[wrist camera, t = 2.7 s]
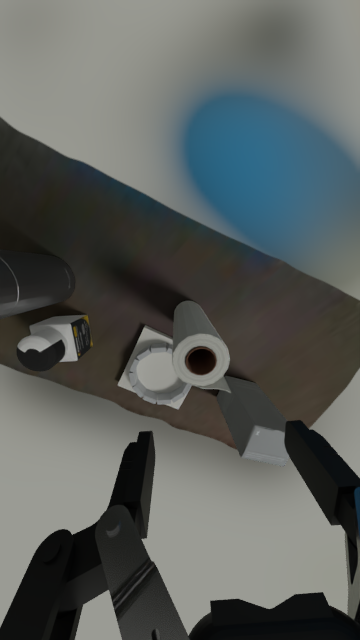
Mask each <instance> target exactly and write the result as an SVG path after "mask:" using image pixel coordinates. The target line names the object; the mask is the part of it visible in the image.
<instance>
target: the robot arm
mask: <svg viewBox="0 0 360 640" xmlns="http://www.w3.org/2000/svg"><path fill="white" fill-rule="evenodd" d="M74 288H75V277H74V274H73V272H72V270H71V268H70V267H69V266H68V264H67V263H65V262H64V261H63V260H62V259H60V258H58V257H55V256H51V255H43V254H36V253H27V252H19V251H10V250H1V249H0V319H2V318H6V317H9V316H13V315H16V314H20V313H23V312H27V311H30V310H34V309H38V308H41V307H45V306H48V305H52V304H55V303H59V302H62V301H65V300H66V299H68V298H69V297H70V296H71V295H72V293H73V291H74ZM284 445H285V448H286V451H287V453H288V455H289V457H290V458H291V460H292V462H293V463H294V465H295V466H296V468H297V470H298V471H299V473H300V475H301V476H302V478H303V480H304V481H305V483H306V485H307V486H308V488H309V490H310V491H311V493H312V495H313V496H314V498H315V499H316V501H317V503H318V504H319V506H320V508H321V509H322V511H323V513H324V514H325V516H326V518H327V519H328V521H329V522H330V524H331V525H341V526H342V527H343V529H344V530H345V547H346V561H347V574H348V615H346V614H345V613H343V612H342V611H340V610H338V609H336V608H334V607H332V606H329V605H328V602H327V600H326V598H325V596H324V594H323V592H321V593H308V594H296V595H294V596H292V597H290V598H289V599H287V600H285V601H284V602H282V603H281V604H279V605H278V606H276V607H275V608H272V609H266V608H263V607H261V606H258V605H255V604H252V603H248V602H246V601H243V600H240V599H228V600H215V601H210V603H211V612H210V613H209V614H207V615H206V616H204V617H203V618H202V619H201V620H200V621H199V622H198V623H197V624H196V625H195V627H194V628H193V629H192V631H191V633H190V634H189V636H188V634H187V632H186V630H185V628H184V626H183V623H182V621H181V619H180V617H179V615H178V612H177V610H176V608H175V606H174V604H173V602H172V599H171V597H170V595H169V593H168V591H167V588H166V586H165V584H164V582H163V580H162V577H161V575H160V573H159V571H158V569H157V567H156V565H155V563H154V562H152V561H151V560H150V557H149V555H148V553H147V551H146V549H145V546H144V544H143V542H142V540H141V539H144V538H147V530H148V522H149V513H150V503H151V494H152V485H153V476H154V466H155V447H154V440H153V432H152V431H143V432H139V435H138V439H137V442H132V443H130V444H129V445H128V446H127V448H126V449H125V451H124V454H123V457H122V462H121V464H120V468H119V471H118V475H117V478H116V482H115V485H114V489H113V492H112V496H111V499H110V503H109V506H108V508H107V510H106V511H105V512H104V513H103V515H102V516H101V517H100V519H99V520H98V521H97V522H96V523H95V524H93V525H92V526H90V527H88V528H86V529H84V530H82V531H80V532H77V533H76V534H73V535H72V534H71V532H70V531H68V530H65V529H62V530H58V531H55V532H54V533H52V534H51V535H49V536H48V537H47V538H46V539H45V540H44V541H43V542H42V543H41V544H40V546H39V547H38V549H37V550H36V552H35V554H34V556H33V558H32V560H31V562H30V564H29V566H28V569H27V571H26V573H25V575H24V577H23V579H22V582H21V584H20V586H19V588H18V590H17V593H16V595H15V597H14V599H13V601H12V603H11V606H10V608H9V610H8V612H7V615H6V616H5V619H4V621H3V623H2V625H1V627H0V640H75V636H76V632H77V628H78V623H79V619H80V615H81V611H82V607H83V604H85V603H87V602H88V601H90V600H92V599H93V598H95V597H97V596H98V595H100V594H102V593H103V592H105V591H107V590H109V591H110V595H111V599H112V602H113V606H114V610H115V614H116V618H117V621H118V625H119V629H120V633H121V637H122V640H360V478H359V477H358V476H357V475H356V474H355V472H354V471H353V470H352V469H351V468H350V467H349V466H348V465H347V463H346V462H345V461H344V460H343V459H342V458H341V457H340V456H339V455H338V454H337V452H336V451H335V450H334V449H333V448H332V447H331V446H330V444H329V443H328V442H327V441H326V440H325V438H324V437H323V436H321V435H320V434H318V433H317V432H315V431H314V430H309V429H308V428H307V427H306V425H305V424H304V423H303V422H302V421H301V420H295V421H287V422H286V425H285V437H284Z"/></svg>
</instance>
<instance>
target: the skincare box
mask: <svg viewBox="0 0 360 640" xmlns="http://www.w3.org/2000/svg"><path fill="white" fill-rule="evenodd" d="M224 378H225V380H226V382H227V385H228V387H229V389H230V391H231V393H229V392H227V391H225V390H219V393H218V395H217V401H218V403H219V406H220V408H221V411H222V413H223V415H224V418H225V420H226V423H227V425H228V427H229V430H230V432H231V435H232V437H233V439H234V442H235V444H236V447H237V449H238V451H239V454H240V456H241V458H245V459H250V460H255V461H260V462H265V463H270V464H275V465H279V466H285V464H286V462H287V460H288V458H289V455H288V453H287V451H286V448H285V445H284V437H285V425H286V422H287V420H286V418H285V417H284V416H283V415H282V414H281V413H280V411H279V410H278V409H277V408H276V407H275V405H274V404H273V403H272V402H271V401H270V399H269V398H268V397H267V396H266V395H265V393H264V392H263V391H262V390H261V389H260V387H259V386H258V385H257V384H256V383H254V382H250V381H246V380H242V379H238V378H234V377H230V376H225V377H224Z"/></svg>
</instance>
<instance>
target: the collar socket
mask: <svg viewBox="0 0 360 640" xmlns="http://www.w3.org/2000/svg"><path fill="white" fill-rule="evenodd" d="M172 348H173V337H171V336H168V335H166V334H164V333H162V332H160V331H157V330H155V329H153V328H151V327H148V326H146V325H145V327H144V329H143V331H142V333H141V335H140V337H139V340H138V342H137V344H136V346H135V348H134V351H133V353H132V355H131V357H130V359H129V361H128V364H127V366H126V368H125V370H124V372H123V375H122V377H121V379H120V381H119V383H118V386H120V387H123V388H125V389H128V390H130V391H133V392H135V393H137V394H138V395H139V397H140V398H141V397H143V400H146V401H148V402H151V403H153V404H155V403H156V401H157V403H158V404H166V405H168V406H171V407H173V408H176V409H179V407H180V406H181V404H182V402H183V400H184V399H185V397H186V395H187V393H188V391H189V390H190V388H191V386H192V385H191V384H188V383H186V382H184V381H182V380H181V379H180V378H179V377H178V376H177V375H176V373H175V371H174V368H173V365H172Z"/></svg>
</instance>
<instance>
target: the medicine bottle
mask: <svg viewBox="0 0 360 640" xmlns="http://www.w3.org/2000/svg"><path fill="white" fill-rule="evenodd" d="M29 328H30V332H31V335H30V336H27V337H25V338H23V339H22V340H21V341H20V342H19V343H18V346H17V357H18V359H19V361H20V362H21V363H22V364H23V365H24V366H25V367H26V368H28V369H30V370H33V371H46V370H49V369H50V368H52V367H53V366H54V365H56V364H57V363H58V362H64V361H77V360H78V359H79V358H80V357H81V356H82V355H83V354H85V353H86V352H87V351H88V350H89V349H90V348H91V347H92V346H93V344H92V338H91V333H90V327H89V321H88V316H87V315H72V316H54V317H51V318H49V319H46V320H43V321H41V322H38V323H36V324H33V325H30V327H29Z"/></svg>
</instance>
